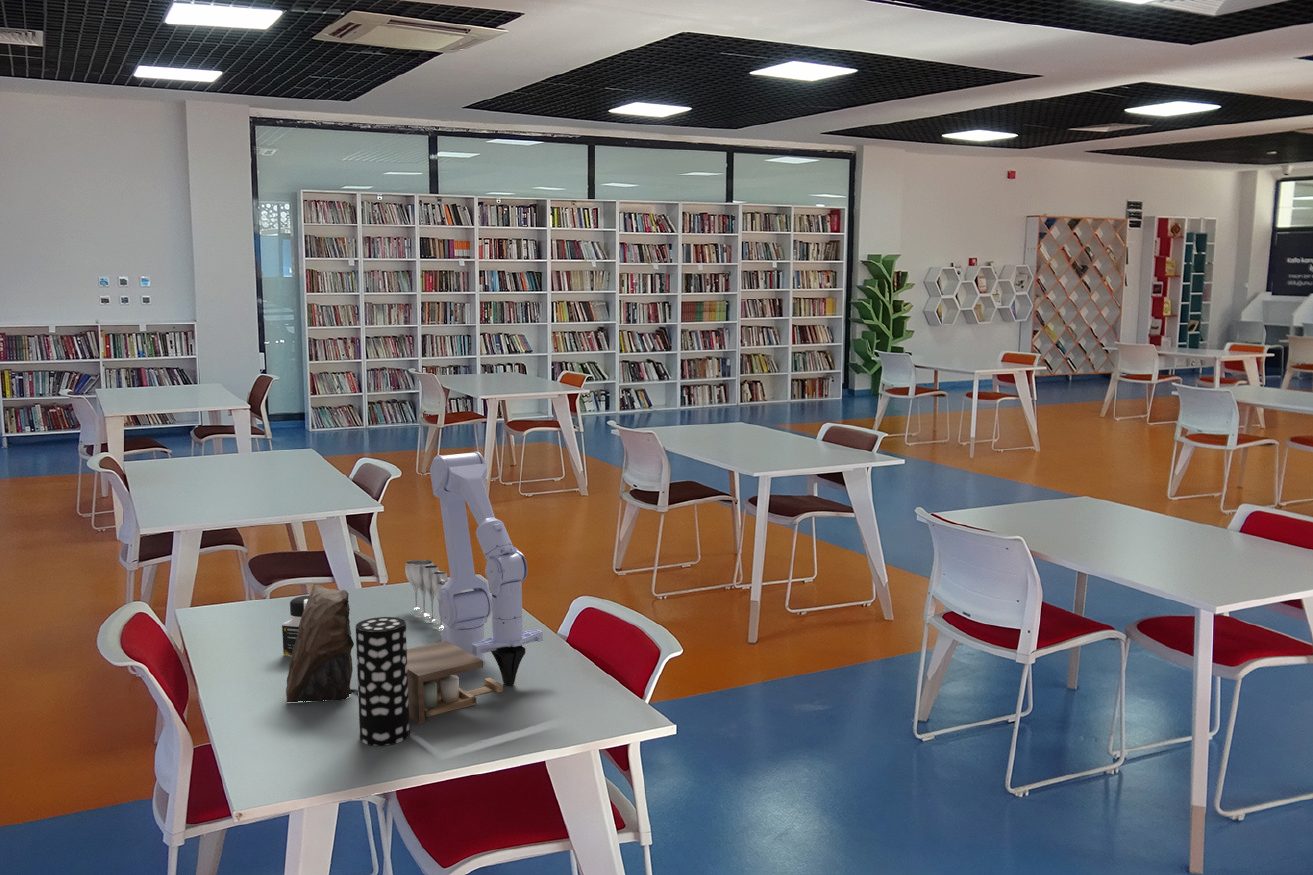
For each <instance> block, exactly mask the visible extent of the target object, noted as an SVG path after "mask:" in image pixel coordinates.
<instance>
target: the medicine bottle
mask: <svg viewBox="0 0 1313 875" xmlns="http://www.w3.org/2000/svg"><path fill="white" fill-rule="evenodd" d="M308 598H309V595H301V596H297V597H293V599H291V600H290V601H289V609H290V610H289V611H290V612H289V613H290V620H287V621H284V622H283V623H282V625H281V631H282V651H283V652H282V653H283V656H284V655H288V656H287V657H291V656H292V651H293V648H294V645H295V642H296V638H297V634H298V630H299V624H300V620H301V617H302V614H303V611H304V609H305V607H306V604H307V601H308Z"/></svg>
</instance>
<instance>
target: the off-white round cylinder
mask: <svg viewBox="0 0 1313 875" xmlns="http://www.w3.org/2000/svg"><path fill="white" fill-rule="evenodd" d="M459 688H460V680H459V676H458V675H456V674H454V675H450V676H446V677H442V678H440V690H441V701H442V702H455V701H457V700H459Z"/></svg>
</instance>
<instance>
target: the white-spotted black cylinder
mask: <svg viewBox="0 0 1313 875" xmlns="http://www.w3.org/2000/svg"><path fill="white" fill-rule="evenodd" d="M407 644H408V642H407V622H406V619H402V618H400V617H397V616H396V617H395V616H378V617H373V618H368V619H363V620H361V621H359V622H357V623H356V624H355V646H356V647H355V648H356V649H355V650H356V668H357V669H356V672H357V697H358V720H359V721H358V724H359V739H360V742H362V743H363V744H364V745H368V746H372V747H373V746H374V747H375V746H378V747H383V746H391V745H396V744H399V743H401V742H403V741H404V740H406V739H407V738H408V737H409V736H410V717H409V702H408V672H407V649H408V648H407V647H408V645H407Z"/></svg>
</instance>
